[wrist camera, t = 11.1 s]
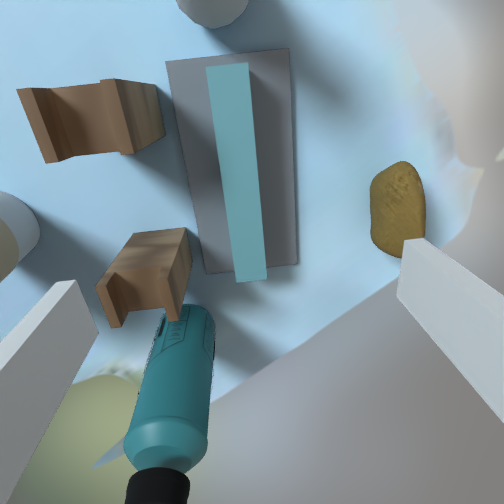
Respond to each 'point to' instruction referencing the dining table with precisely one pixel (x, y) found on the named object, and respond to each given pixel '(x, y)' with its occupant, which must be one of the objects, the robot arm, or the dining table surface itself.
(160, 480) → the beverage bottle
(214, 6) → the salt shaker
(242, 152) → the rail
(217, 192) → the mat
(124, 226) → the dining table surface
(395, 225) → the potato
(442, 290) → the robot arm
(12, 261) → the coffee cup
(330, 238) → the dining table surface
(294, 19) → the dining table surface
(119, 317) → the post
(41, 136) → the post
